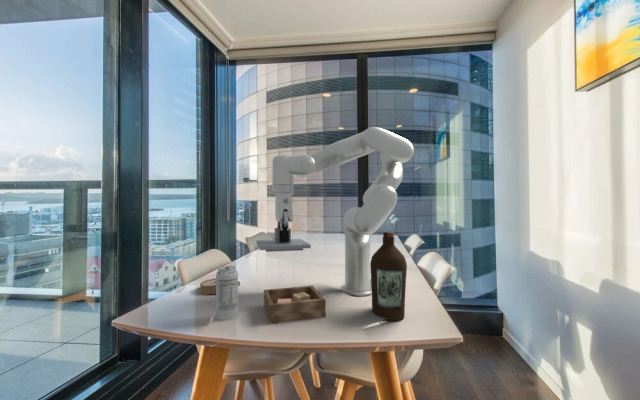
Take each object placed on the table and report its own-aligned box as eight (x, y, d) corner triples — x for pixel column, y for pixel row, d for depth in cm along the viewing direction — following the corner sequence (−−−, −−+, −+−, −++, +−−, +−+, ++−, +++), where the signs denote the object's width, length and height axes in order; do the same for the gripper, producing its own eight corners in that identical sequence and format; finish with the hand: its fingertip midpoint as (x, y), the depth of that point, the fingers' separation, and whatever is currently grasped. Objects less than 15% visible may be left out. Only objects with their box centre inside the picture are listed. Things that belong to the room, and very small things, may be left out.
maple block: (303, 304, 94) (303, 292, 94) (310, 308, 90) (310, 295, 90) (292, 306, 92) (292, 294, 92) (298, 311, 88) (298, 297, 88)
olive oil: (369, 307, 94) (370, 229, 93) (403, 309, 92) (404, 230, 92) (370, 321, 83) (371, 233, 83) (409, 324, 82) (409, 234, 81)
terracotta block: (291, 311, 88) (291, 298, 88) (291, 317, 84) (291, 303, 84) (277, 312, 87) (277, 299, 87) (277, 317, 83) (277, 303, 83)
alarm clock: (207, 278, 118) (243, 272, 116) (209, 290, 118) (245, 284, 116) (193, 286, 106) (232, 280, 105) (195, 300, 106) (234, 294, 105)
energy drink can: (237, 314, 88) (238, 264, 88) (237, 322, 82) (238, 269, 82) (216, 316, 86) (216, 265, 86) (215, 324, 81) (215, 270, 81)
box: (312, 303, 97) (312, 285, 97) (325, 320, 84) (325, 299, 84) (263, 308, 92) (263, 289, 92) (269, 327, 79) (269, 305, 79)
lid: (300, 244, 115) (300, 226, 115) (310, 251, 101) (310, 230, 100) (256, 246, 110) (256, 226, 110) (260, 253, 95) (260, 231, 95)
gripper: (298, 189, 98) (298, 243, 98) (288, 191, 114) (288, 237, 114) (276, 189, 96) (275, 244, 96) (269, 190, 112) (269, 238, 112)
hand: (282, 240), depth 105 cm, fingers closed on lid, 5 cm apart
